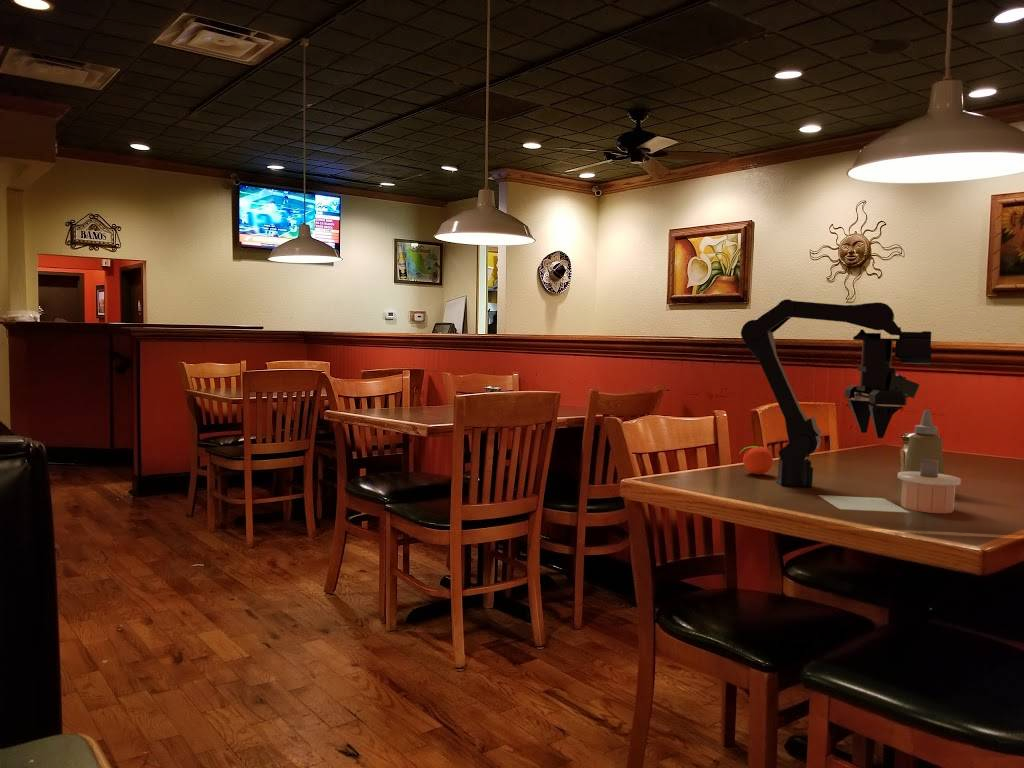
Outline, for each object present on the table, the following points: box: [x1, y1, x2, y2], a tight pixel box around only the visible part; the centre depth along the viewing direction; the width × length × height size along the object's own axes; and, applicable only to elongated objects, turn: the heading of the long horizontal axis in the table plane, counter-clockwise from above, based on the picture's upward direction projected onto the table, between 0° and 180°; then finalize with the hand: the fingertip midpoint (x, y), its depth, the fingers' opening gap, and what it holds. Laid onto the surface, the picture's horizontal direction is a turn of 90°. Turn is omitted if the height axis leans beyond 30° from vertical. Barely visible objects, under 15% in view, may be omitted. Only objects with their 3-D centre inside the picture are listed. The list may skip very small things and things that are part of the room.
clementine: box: [739, 445, 774, 476], centre depth 188 cm, size 8×7×7 cm
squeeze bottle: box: [903, 409, 945, 474], centre depth 175 cm, size 8×8×18 cm
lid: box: [897, 459, 962, 487], centre depth 152 cm, size 11×11×4 cm
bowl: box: [900, 480, 956, 514], centre depth 152 cm, size 9×9×6 cm
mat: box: [818, 494, 911, 514], centre depth 154 cm, size 13×13×1 cm
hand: (871, 435), depth 165 cm, fingers open, 9 cm apart
